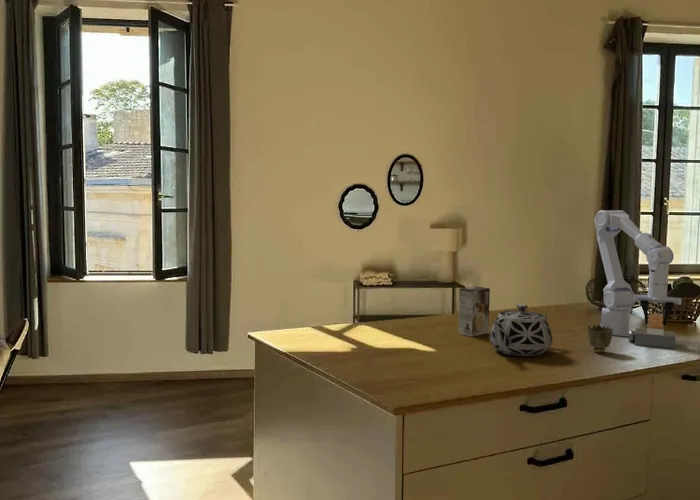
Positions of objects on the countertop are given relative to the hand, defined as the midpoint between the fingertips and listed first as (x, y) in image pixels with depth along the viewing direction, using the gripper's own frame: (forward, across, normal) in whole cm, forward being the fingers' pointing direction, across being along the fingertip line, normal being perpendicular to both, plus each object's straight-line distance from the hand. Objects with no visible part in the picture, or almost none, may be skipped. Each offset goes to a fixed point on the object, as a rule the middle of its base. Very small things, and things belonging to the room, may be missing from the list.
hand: (655, 324), depth 234 cm
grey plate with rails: (+7, 0, 0) cm, 7 cm away
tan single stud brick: (+3, 0, 0) cm, 3 cm away
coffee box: (+7, -58, -12) cm, 60 cm away
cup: (+7, -16, -20) cm, 27 cm away
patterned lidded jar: (+7, -39, -32) cm, 51 cm away
